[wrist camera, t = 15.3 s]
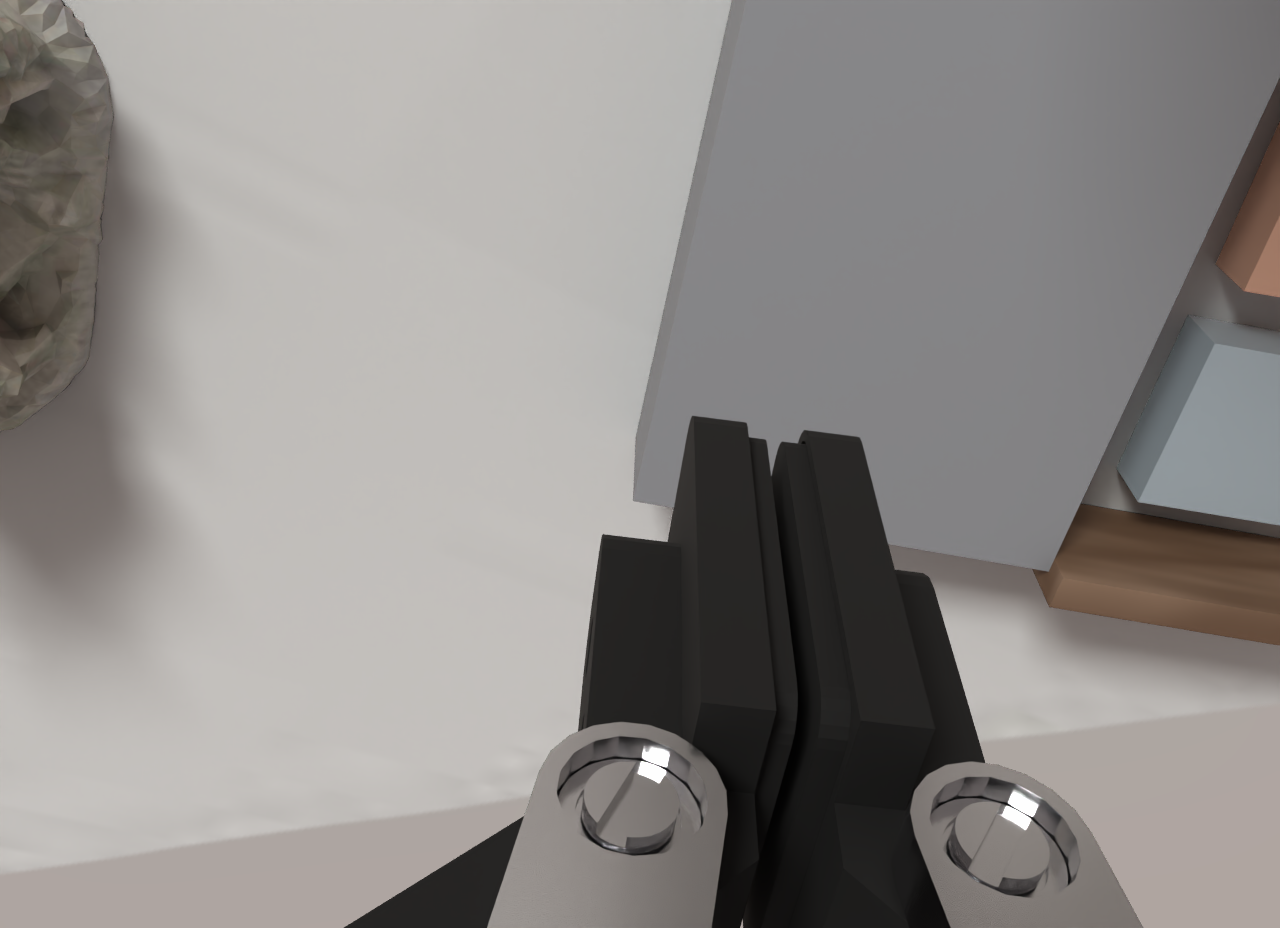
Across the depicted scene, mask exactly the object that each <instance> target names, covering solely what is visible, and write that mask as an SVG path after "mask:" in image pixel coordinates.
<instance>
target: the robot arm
mask: <svg viewBox="0 0 1280 928" xmlns="http://www.w3.org/2000/svg"><path fill="white" fill-rule="evenodd" d="M742 919H743V928H1143V926H1142V925H1141V923H1140V921H1139V919H1138V917H1137V915H1136V913H1135V912H1134V910H1133V908H1132V906H1131V904H1130V902H1129V901H1128V899H1127V897H1126V895H1125V893H1124V891H1123V889H1122V888H1121V886H1120V884H1119V882H1118V880H1117V878H1116V877H1115V875H1114V873H1113V871H1112V869H1111V867H1110V865H1109V864H1108V862H1107V860H1106V858H1105V857H1104V855H1103V853H1102V851H1101V849H1100V847H1099V845H1098V844H1097V841H1096V840H1095V838H1094V836H1093V834H1092V832H1091V831H1090V830H1089V828H1088V827H1087V825H1086V824H1085V823H1084V821H1083V820H1082V819H1081V817H1080V816H1079V815H1078V813H1077V812H1076V810H1075V809H1074V808H1073V807H1071V806H1070V805H1069V804H1068V803H1067V802H1066V801H1065V800H1063V799H1062V798H1061V797H1060V796H1059V795H1058V794H1057V793H1056V792H1054V791H1053V790H1052V789H1050V788H1049V787H1047V786H1045V785H1043V784H1041V783H1040V782H1038V781H1037V780H1035V779H1033V778H1031V777H1030V776H1028V775H1026V774H1023V773H1021V772H1017V771H1015V770H1012V769H1009V768H1006V767H1003V766H1000V765H996V764H988V763H985V760H984V757H983V754H982V750H981V746H980V743H979V740H978V736H977V733H976V730H975V726H974V723H973V719H972V716H971V713H970V709H969V706H968V702H967V699H966V696H965V692H964V689H963V685H962V682H961V679H960V675H959V672H958V668H957V665H956V662H955V658H954V655H953V651H952V648H951V645H950V641H949V638H948V635H947V631H946V628H945V624H944V621H943V618H942V614H941V611H940V607H939V604H938V601H937V597H936V594H935V590H934V587H933V585H932V583H931V581H930V578H929V577H928V576H926V575H925V574H924V573H917V572H908V571H900V570H894V566H893V562H892V558H891V554H890V550H889V546H888V542H887V538H886V534H885V530H884V526H883V523H882V519H881V515H880V511H879V507H878V503H877V499H876V495H875V491H874V487H873V483H872V479H871V475H870V472H869V468H868V464H867V460H866V456H865V452H864V448H863V444H862V441H861V439H860V437H857V436H849V435H841V434H833V433H825V432H817V431H809V430H804V431H803V432H802V434H801V436H800V438H799V441H798V443H790V442H783V441H782V442H781V443H780V445H779V448H778V451H777V454H776V458H775V463H774V467H773V471H772V476H771V471H770V463H769V455H768V447H767V442H766V440H765V439H759V438H751V437H749V434H748V426H747V423H745V422H739V421H731V420H723V419H715V418H707V417H699V416H692V417H691V420H690V423H689V428H688V433H687V438H686V443H685V449H684V454H683V460H682V465H681V471H680V477H679V482H678V488H677V493H676V499H675V504H674V510H673V515H672V521H671V526H670V532H669V538H668V542H662V541H653V540H645V539H637V538H629V537H621V536H612V535H604V534H603V535H602V539H601V545H600V551H599V558H598V565H597V572H596V579H595V586H594V593H593V600H592V608H591V615H590V623H589V631H588V640H587V648H586V657H585V666H584V676H583V686H582V696H581V707H580V717H579V728H578V732H576V733H574V734H571V735H569V736H568V737H567V738H566V739H564V740H563V741H562V742H561V743H560V744H558V745H557V746H556V747H555V748H554V749H552V750H551V751H550V753H549V755H548V756H547V758H546V760H545V762H544V763H543V765H542V767H541V769H540V770H539V773H538V776H537V779H536V782H535V785H534V788H533V791H532V794H531V797H530V800H529V803H528V806H527V809H526V812H525V815H524V816H523V817H522V818H520V819H519V820H517V821H515V822H514V823H512V824H510V825H509V826H507V827H506V828H504V829H502V830H501V831H499V832H498V833H496V834H494V835H493V836H491V837H490V838H488V839H486V840H485V841H483V842H482V843H480V844H478V845H477V846H475V847H473V848H472V849H470V850H468V851H467V852H466V853H464V854H462V855H460V856H459V857H457V858H456V859H454V860H452V861H451V862H449V863H448V864H446V865H444V866H443V867H441V868H439V869H438V870H436V871H435V872H433V873H431V874H430V875H428V876H427V877H425V878H424V879H422V880H420V881H418V882H417V883H415V884H414V885H412V886H411V887H409V888H407V889H406V890H404V891H402V892H401V893H399V894H397V895H396V896H395V897H393V898H391V899H389V900H388V901H386V902H385V903H383V904H381V905H380V906H378V907H376V908H375V909H373V910H372V911H370V912H369V913H367V914H365V915H364V916H362V917H360V918H359V919H357V920H356V921H354V922H353V923H351V924H349V925H348V926H346V927H344V928H740V926H741V922H742Z"/></svg>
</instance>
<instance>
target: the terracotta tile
mask: <svg viewBox="0 0 1280 928" xmlns="http://www.w3.org/2000/svg"><path fill="white" fill-rule="evenodd" d="M1216 265H1217V266H1218V267H1219V268H1220V269H1221V270H1222V271H1223V272H1224V273H1225V274H1226V275H1227V276H1228V277H1229V278H1231V279H1232V280H1233V281H1234V282H1235V283H1236V284H1237V285H1238V286H1239V287H1240V288H1241V289H1242V290H1243V291H1245V292H1251V293H1257V294H1263V295H1269V296H1275V297H1280V122H1279V124H1278V126H1277V129H1276V131H1275V133H1274V135H1273V137H1272V140H1271V142H1270V144H1269V146H1268V149H1267V151H1266V153H1265V155H1264V157H1263V160H1262V162H1261V164H1260V166H1259V169H1258V171H1257V173H1256V175H1255V177H1254V180H1253V182H1252V184H1251V186H1250V188H1249V191H1248V193H1247V195H1246V197H1245V200H1244V202H1243V204H1242V206H1241V208H1240V211H1239V213H1238V215H1237V217H1236V220H1235V222H1234V224H1233V226H1232V228H1231V231H1230V233H1229V235H1228V237H1227V240H1226V242H1225V244H1224V246H1223V248H1222V251H1221V253H1220V255H1219V257H1218V260H1217V262H1216Z"/></svg>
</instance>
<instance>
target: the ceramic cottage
mask: <svg viewBox="0 0 1280 928" xmlns="http://www.w3.org/2000/svg"><path fill="white" fill-rule="evenodd" d="M113 118H114V116H113V110H112V104H111V97H110V91H109V80H108V76H107V74H106V72H105V69H104V66H103V63H102V61H101V59H100V57H99V55H98V53H97V51H96V48H95V46H94V45H93V43H92V42H91V40H90V39H89V38H88V37H85V32H84V23H83V22H81V21H80V20H78V19H76V18H74V17H73V11H72V10H71V9H70V8H68V7H66V6H64V5H63V3H62V1H61V0H0V432H1V431H2V430H10V429H14V428H15V427H17V426H19V425H21V424H22V423H23V422H24V421H25V420H27V419H29V418H30V417H31V416H32V415H34V414H35V413H36V412H37V411H39V410H40V409H41V408H43V407H44V406H45V405H47V404H48V403H49V402H51V401H52V400H53V399H54V398H55V397H56V396H57V395H58V394H59V393H61V392H62V391H64V390H65V388H66V387H67V386H68V385H69V384H70V383H71V380H72V379H73V377H74V376H75V375H77V374H78V373H79V372H80V371H81V370H82V369H83V367H84V366H85V364H86V362H87V360H88V358H89V354H90V345H91V341H90V340H91V338H92V329H93V323H94V307H95V294H96V288H95V283H96V281H97V275H98V262H99V250H98V245H99V244H100V242H101V241H102V233H101V227H100V224H101V220H100V217H101V215H102V212H103V209H104V205H103V203H102V201H103V200H104V192H105V186H106V176H107V159H109V142H110V135H111V128H112V122H113Z"/></svg>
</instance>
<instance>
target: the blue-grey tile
mask: <svg viewBox="0 0 1280 928" xmlns="http://www.w3.org/2000/svg"><path fill="white" fill-rule="evenodd" d="M1117 470H1118V471H1119V473H1120V475H1121V476H1122V478H1123V479H1124V481H1125V482H1126V484H1127V486H1128V487H1129V489H1130V490H1131V492H1132V493H1133V495H1134V497H1135V498H1136V500H1137V501H1138V502H1140V503H1147V504H1153V505H1159V506H1165V507H1171V508H1177V509H1183V510H1189V511H1195V512H1201V513H1207V514H1213V515H1219V516H1225V517H1231V518H1237V519H1243V520H1249V521H1255V522H1261V523H1267V524H1274V525H1280V331H1274V330H1269V329H1263V328H1258V327H1252V326H1247V325H1241V324H1236V323H1230V322H1225V321H1219V320H1214V319H1208V318H1203V317H1197V316H1192V315H1188V316H1187V318H1186V320H1185V322H1184V325H1183V327H1182V329H1181V331H1180V333H1179V335H1178V337H1177V339H1176V342H1175V344H1174V346H1173V348H1172V350H1171V352H1170V354H1169V357H1168V359H1167V361H1166V363H1165V365H1164V367H1163V369H1162V372H1161V374H1160V376H1159V378H1158V380H1157V382H1156V384H1155V387H1154V389H1153V391H1152V393H1151V395H1150V397H1149V399H1148V402H1147V404H1146V406H1145V408H1144V410H1143V412H1142V414H1141V417H1140V419H1139V421H1138V423H1137V425H1136V427H1135V429H1134V432H1133V434H1132V436H1131V438H1130V440H1129V442H1128V444H1127V447H1126V449H1125V451H1124V453H1123V455H1122V457H1121V459H1120V462H1119V464H1118V466H1117Z"/></svg>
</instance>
